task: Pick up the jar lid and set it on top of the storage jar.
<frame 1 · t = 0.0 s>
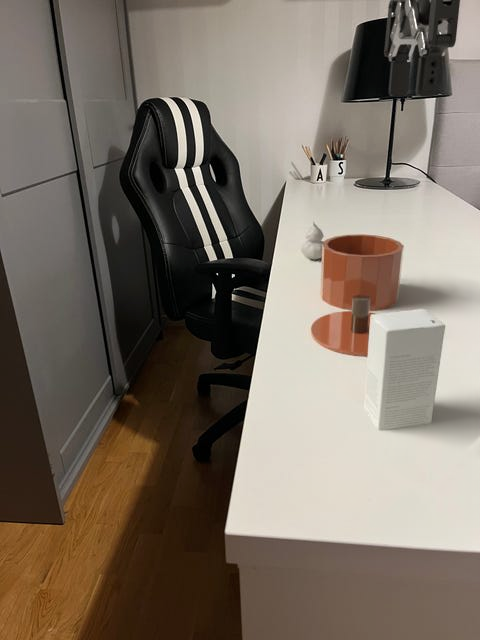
hand: (410, 95, 58), 32 cm above the table, tool pointing down, fingers open, 8 cm apart
white lumpy pointed piece: (316, 259, 105), on the table
storage jar: (358, 299, 85), on the table
jar lid: (358, 333, 72), point 1 cm above the table
cosmetic box: (395, 421, 54), on the table
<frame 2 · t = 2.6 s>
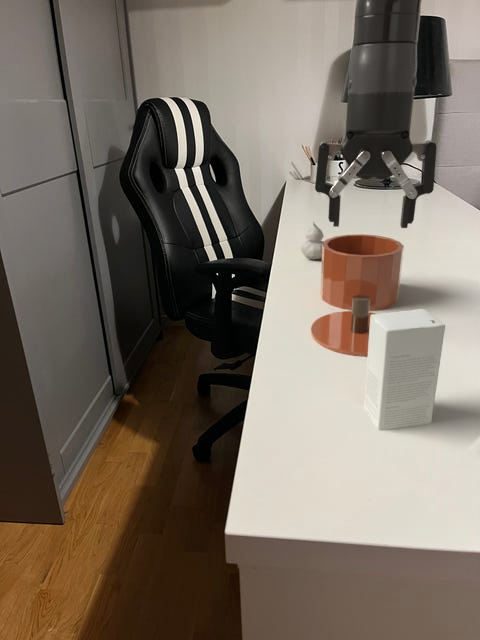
hand: (369, 226, 65), 16 cm above the table, tool pointing down, fingers open, 8 cm apart
nothing on the table moved.
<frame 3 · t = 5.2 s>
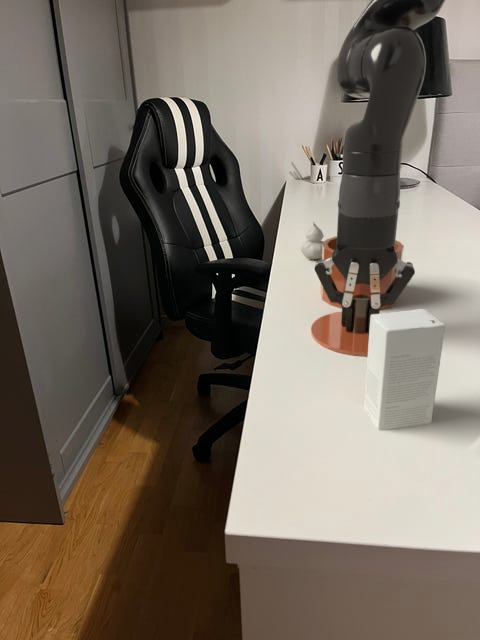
hand: (358, 328, 71), 1 cm above the table, tool pointing down, fingers closed on jar lid, 2 cm apart
jar lid: (358, 333, 72), point 1 cm above the table, touching gripper
everything else where it was.
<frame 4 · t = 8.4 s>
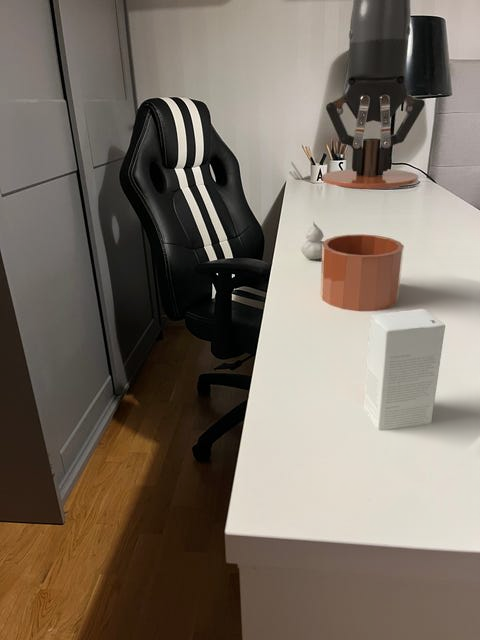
hand: (369, 174, 73), 21 cm above the table, tool pointing down, fingers closed on jar lid, 2 cm apart
jar lid: (369, 179, 73), point 20 cm above the table, touching gripper
everything else where it was.
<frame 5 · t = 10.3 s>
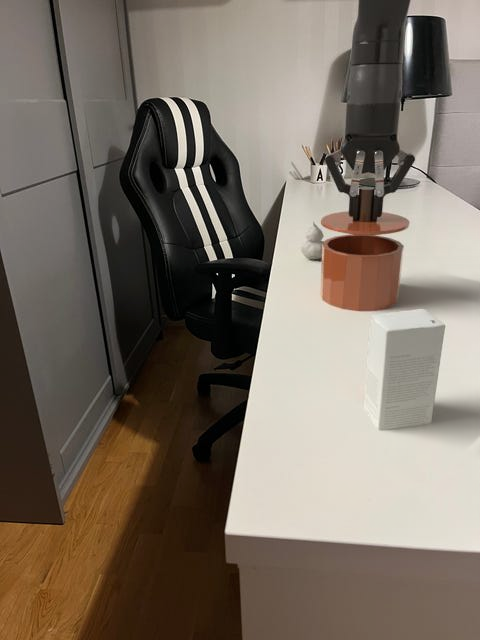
hand: (364, 219, 79), 14 cm above the table, tool pointing down, fingers closed on jar lid, 2 cm apart
jar lid: (364, 223, 79), point 13 cm above the table, touching gripper
everything else where it was.
when the fingers open (10 cm above the table, at t = 11.5 s): jar lid stays where it is, resting on storage jar.
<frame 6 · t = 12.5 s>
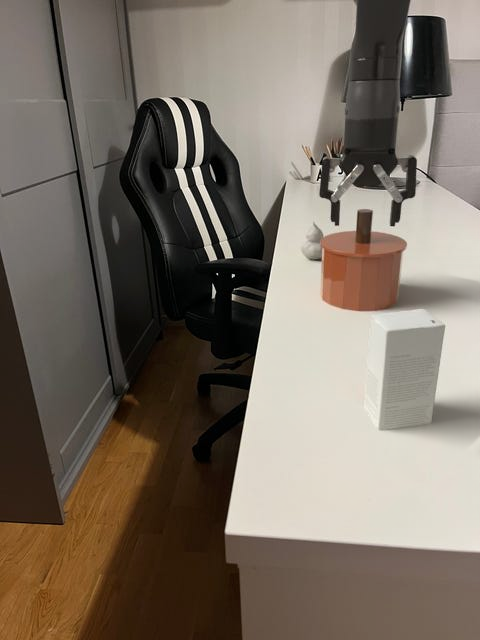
hand: (364, 225, 79), 13 cm above the table, tool pointing down, fingers open, 8 cm apart
jar lid: (362, 244, 81), point 9 cm above the table, touching storage jar
everything else where it was.
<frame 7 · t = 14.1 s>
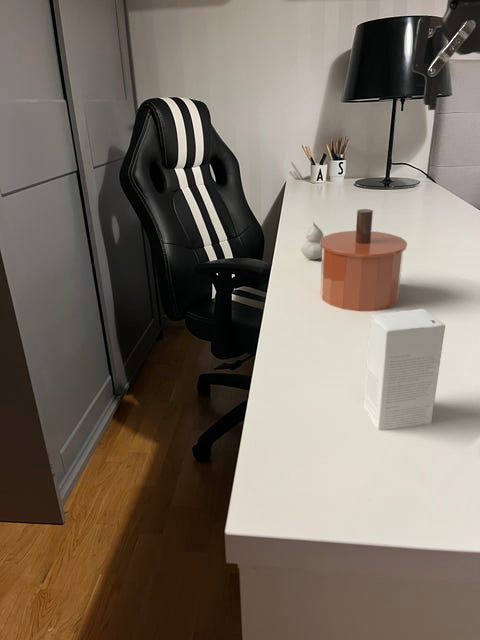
hand: (466, 108, 63), 30 cm above the table, tool pointing down, fingers open, 8 cm apart
nothing on the table moved.
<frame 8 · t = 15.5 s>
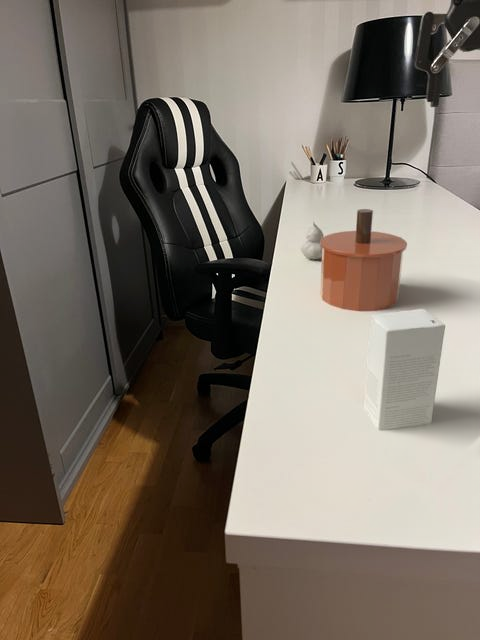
hand: (469, 105, 63), 30 cm above the table, tool pointing down, fingers open, 8 cm apart
nothing on the table moved.
at the end: jar lid 0.0 cm off-centre on the storage jar, point 9.5 cm above the storage jar's base; jar lid tilted 0°; the gripper is holding nothing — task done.
